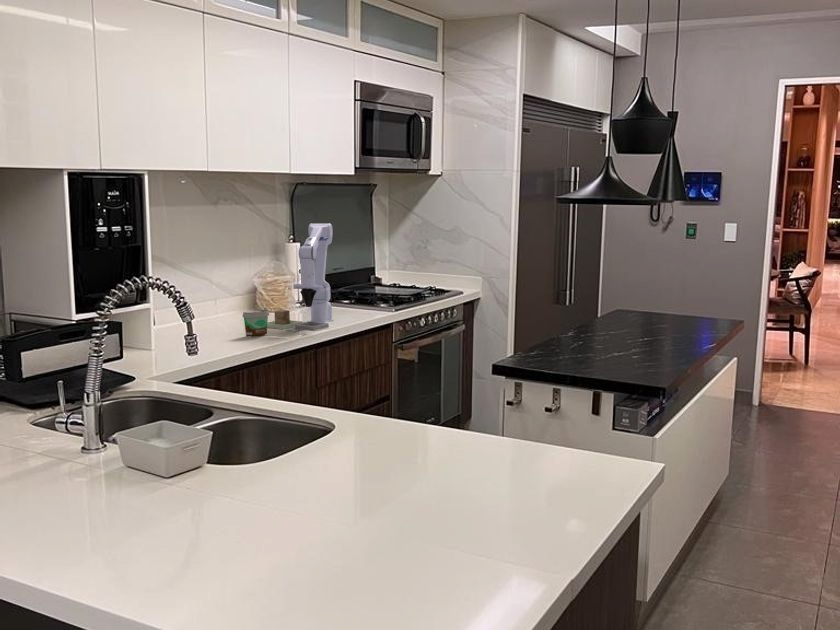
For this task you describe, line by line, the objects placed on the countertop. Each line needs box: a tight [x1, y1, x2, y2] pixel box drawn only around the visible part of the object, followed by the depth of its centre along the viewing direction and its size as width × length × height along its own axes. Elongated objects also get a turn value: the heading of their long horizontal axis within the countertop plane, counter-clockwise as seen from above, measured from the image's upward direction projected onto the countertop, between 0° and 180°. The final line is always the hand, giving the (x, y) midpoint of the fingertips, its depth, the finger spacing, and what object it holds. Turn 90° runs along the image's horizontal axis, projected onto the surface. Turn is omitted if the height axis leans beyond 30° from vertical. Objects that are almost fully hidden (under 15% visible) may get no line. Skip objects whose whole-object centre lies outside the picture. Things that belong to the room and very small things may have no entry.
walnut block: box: [274, 309, 291, 325], centre depth 357 cm, size 4×4×6 cm
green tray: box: [267, 320, 303, 330], centre depth 357 cm, size 12×12×2 cm
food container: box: [242, 308, 270, 338], centre depth 337 cm, size 12×6×10 cm, turn 143°
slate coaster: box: [284, 328, 304, 333], centre depth 346 cm, size 6×6×1 cm
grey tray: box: [294, 321, 329, 332], centre depth 352 cm, size 10×10×2 cm
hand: (308, 306), depth 352 cm, fingers closed
